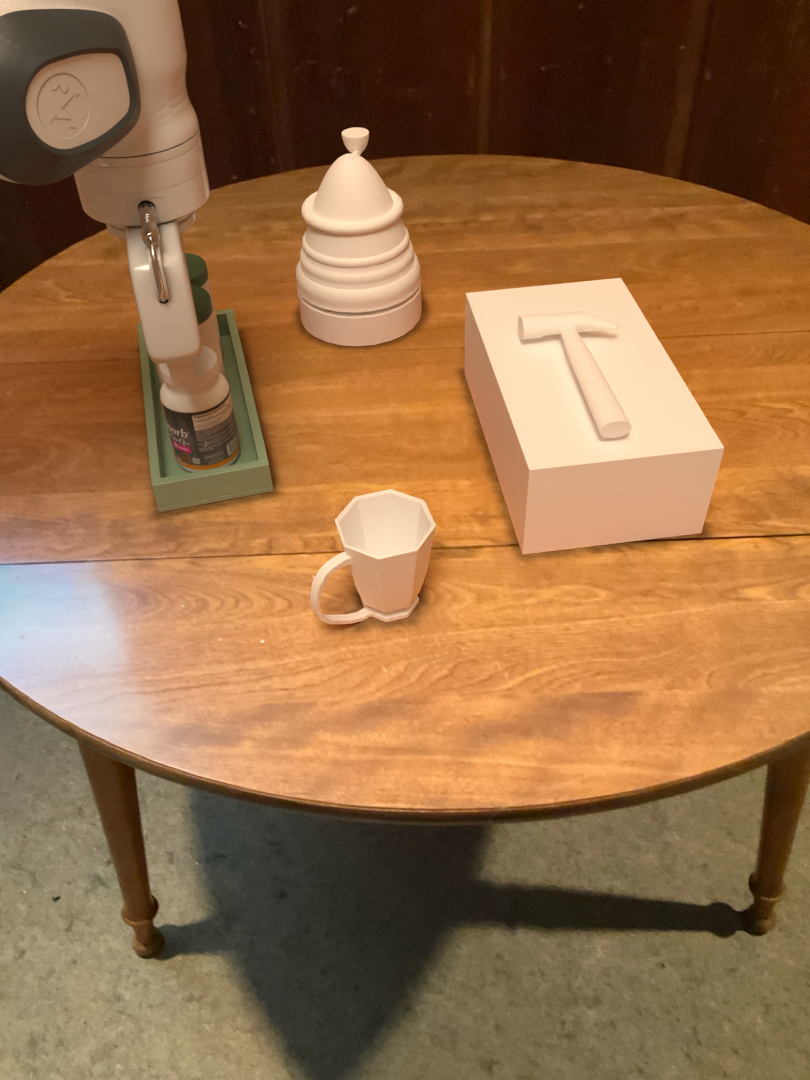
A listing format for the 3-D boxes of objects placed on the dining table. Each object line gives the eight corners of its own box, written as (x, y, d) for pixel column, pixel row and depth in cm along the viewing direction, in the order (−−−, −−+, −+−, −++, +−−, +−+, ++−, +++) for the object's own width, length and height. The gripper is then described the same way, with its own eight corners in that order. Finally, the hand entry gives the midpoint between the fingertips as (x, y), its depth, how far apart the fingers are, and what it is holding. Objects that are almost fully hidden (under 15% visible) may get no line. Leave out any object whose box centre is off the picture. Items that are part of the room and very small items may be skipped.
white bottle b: (165, 382, 89) (141, 288, 82) (161, 349, 93) (138, 257, 86) (227, 371, 90) (209, 278, 83) (220, 339, 94) (202, 248, 87)
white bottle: (164, 418, 85) (139, 323, 78) (165, 381, 89) (141, 287, 82) (230, 409, 86) (211, 314, 79) (227, 373, 90) (209, 280, 83)
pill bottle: (164, 454, 81) (138, 358, 74) (220, 427, 84) (200, 332, 77) (197, 486, 78) (173, 389, 71) (254, 457, 81) (236, 361, 74)
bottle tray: (273, 491, 78) (269, 464, 76) (159, 512, 77) (151, 485, 75) (237, 333, 96) (232, 307, 94) (143, 348, 94) (136, 322, 92)
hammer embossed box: (609, 357, 91) (624, 254, 83) (701, 533, 73) (731, 422, 65) (464, 372, 90) (466, 269, 82) (522, 554, 72) (531, 444, 64)
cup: (456, 604, 69) (457, 525, 63) (347, 674, 64) (338, 596, 59) (397, 552, 73) (393, 474, 67) (291, 615, 68) (277, 537, 63)
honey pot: (324, 276, 104) (307, 110, 91) (435, 289, 101) (433, 119, 88) (282, 337, 95) (257, 163, 83) (402, 353, 92) (395, 175, 80)
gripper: (202, 235, 57) (235, 417, 67) (176, 118, 71) (206, 282, 81) (97, 249, 56) (146, 432, 66) (92, 127, 70) (133, 292, 80)
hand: (179, 348), depth 73 cm, fingers open, 8 cm apart
